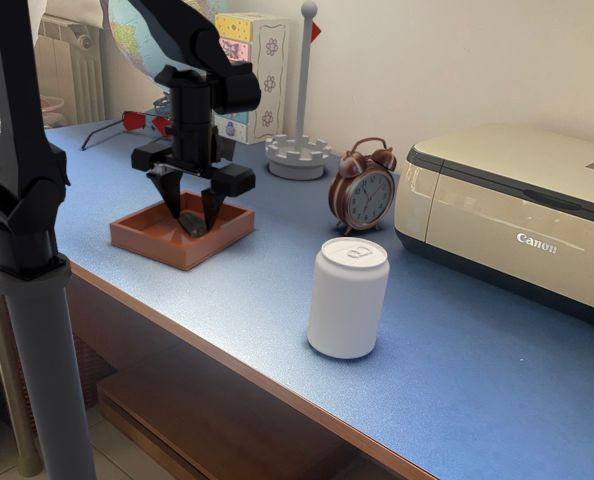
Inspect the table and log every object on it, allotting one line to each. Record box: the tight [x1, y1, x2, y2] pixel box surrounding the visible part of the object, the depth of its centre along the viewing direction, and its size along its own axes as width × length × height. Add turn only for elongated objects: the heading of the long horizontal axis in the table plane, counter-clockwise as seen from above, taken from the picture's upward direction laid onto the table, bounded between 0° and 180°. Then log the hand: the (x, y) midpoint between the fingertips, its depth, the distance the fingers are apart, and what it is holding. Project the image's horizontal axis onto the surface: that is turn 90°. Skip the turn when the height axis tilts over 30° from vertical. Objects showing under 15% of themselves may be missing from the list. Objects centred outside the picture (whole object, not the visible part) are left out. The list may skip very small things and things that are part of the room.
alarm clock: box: [327, 136, 398, 236], centre depth 93 cm, size 11×5×15 cm, turn 123°
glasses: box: [81, 110, 171, 150], centre depth 122 cm, size 14×16×5 cm
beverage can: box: [306, 236, 390, 360], centre depth 66 cm, size 8×8×12 cm
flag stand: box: [264, 0, 332, 181], centre depth 111 cm, size 13×13×30 cm
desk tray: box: [108, 189, 256, 272], centre depth 89 cm, size 18×14×3 cm
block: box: [177, 212, 211, 237], centre depth 91 cm, size 4×6×2 cm, turn 38°
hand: (193, 223), depth 91 cm, fingers closed on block, 6 cm apart
